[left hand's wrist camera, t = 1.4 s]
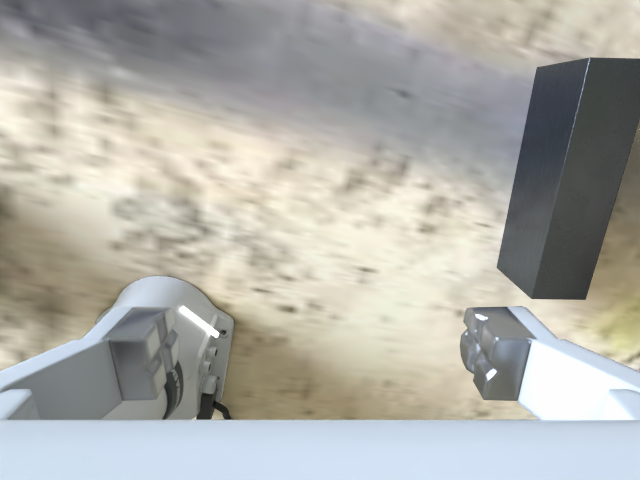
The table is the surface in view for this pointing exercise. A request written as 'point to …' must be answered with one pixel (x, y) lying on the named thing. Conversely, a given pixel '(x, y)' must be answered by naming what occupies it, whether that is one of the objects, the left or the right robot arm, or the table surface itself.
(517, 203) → the box
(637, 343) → the table surface
